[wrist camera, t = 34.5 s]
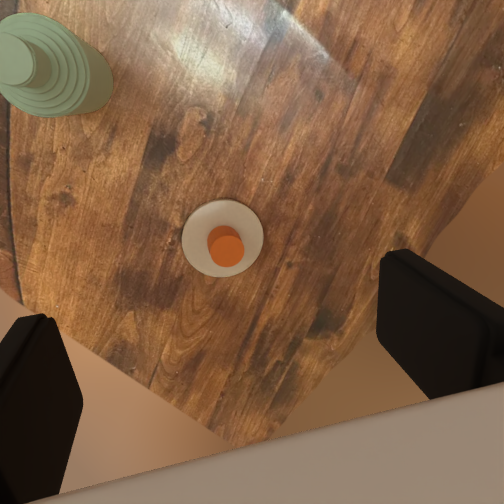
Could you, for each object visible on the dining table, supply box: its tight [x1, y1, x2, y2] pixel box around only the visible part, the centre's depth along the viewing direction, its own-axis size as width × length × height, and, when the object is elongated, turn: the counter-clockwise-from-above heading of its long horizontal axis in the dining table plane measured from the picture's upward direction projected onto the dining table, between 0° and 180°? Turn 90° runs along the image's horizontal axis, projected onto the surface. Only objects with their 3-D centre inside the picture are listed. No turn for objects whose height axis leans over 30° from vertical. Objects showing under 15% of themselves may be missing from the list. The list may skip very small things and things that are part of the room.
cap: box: [207, 226, 245, 267], centre depth 43 cm, size 4×4×4 cm
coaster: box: [182, 199, 263, 277], centre depth 45 cm, size 10×10×1 cm
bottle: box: [0, 13, 113, 118], centre depth 28 cm, size 6×6×18 cm
